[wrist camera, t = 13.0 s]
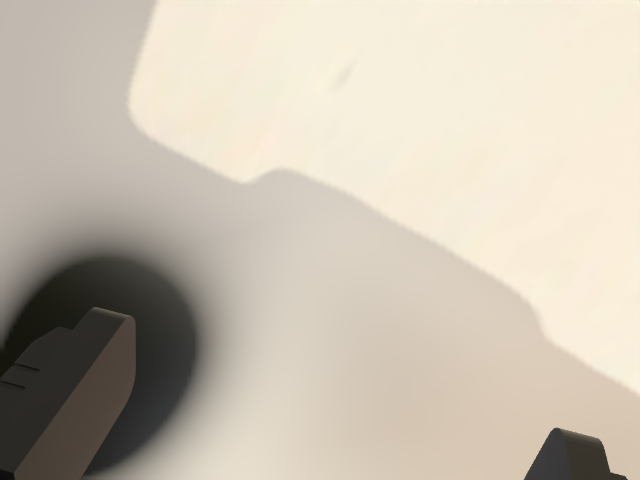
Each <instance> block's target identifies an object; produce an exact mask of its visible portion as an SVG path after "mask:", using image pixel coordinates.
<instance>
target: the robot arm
mask: <svg viewBox="0 0 640 480" xmlns="http://www.w3.org/2000/svg"><path fill="white" fill-rule="evenodd" d="M135 360H136V358H135V320H134V318H133V317H132V316H127V315H124V314H120V313H116V312H112V311H109V310H104V309H101V308H97V307H95V308H92V309H91V310H89V311H88V313H87V314H86V315H85V316H84V317H83V319H82V320H81V321H80V322H79V324H78V325H77V326H76V327H75V328H74V330H70V329H66V328H62V327H58V328H56V329H54V330H53V331H51V332H49V333H47V334H46V335H44V336H42V337H41V338H39V339H37V340H35V341H34V342H32V343H31V345H30V346H29V347H28V348H27V349H26V350H25V351H24V352H23V354H22V355H21V356H20V357H19V358H18V359H17V360H16V361H15V363H14V366H13V367H10V368H9V369H8V370H7V372H6V373H5V374H4V375H3V376H2V377H1V378H0V480H80V478H81V477H82V475H83V473H84V472H85V470H86V468H87V467H88V465H89V464H90V462H91V460H92V459H93V457H94V455H95V454H96V452H97V450H98V449H99V447H100V446H101V444H102V442H103V441H104V439H105V437H106V436H107V434H108V432H109V431H110V429H111V427H112V426H113V424H114V423H115V421H116V419H117V418H118V416H119V414H120V413H121V411H122V410H123V408H124V406H125V404H126V403H127V401H128V399H129V396H130V394H131V391H132V388H133V384H134V380H135V372H136V371H135V370H136V368H135V367H136V366H135V365H136V361H135ZM524 480H627V478H626V477H625V476H622V475H618V474H614V473H611V472H610V469H609V465H608V462H607V457H606V454H605V450H604V446H603V444H602V442H601V441H600V440H599V439H598V438H595V437H591V436H587V435H583V434H579V433H575V432H572V431H568V430H564V429H560V428H554V429H553V430H552V431H551V432H550V434H549V436H548V438H547V439H546V441H545V443H544V444H543V446H542V448H541V450H540V451H539V453H538V455H537V457H536V459H535V460H534V462H533V464H532V466H531V467H530V469H529V471H528V473H527V475H526V477H525V479H524Z"/></svg>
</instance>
